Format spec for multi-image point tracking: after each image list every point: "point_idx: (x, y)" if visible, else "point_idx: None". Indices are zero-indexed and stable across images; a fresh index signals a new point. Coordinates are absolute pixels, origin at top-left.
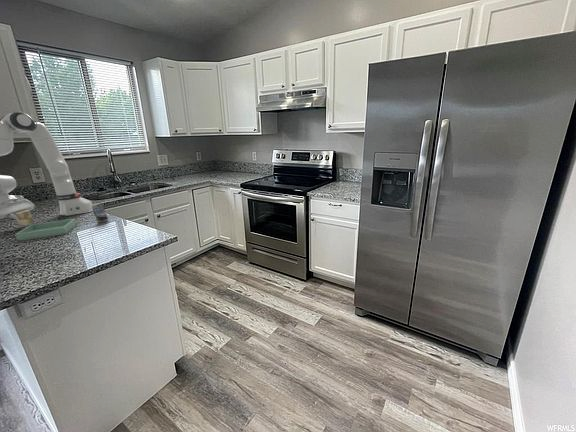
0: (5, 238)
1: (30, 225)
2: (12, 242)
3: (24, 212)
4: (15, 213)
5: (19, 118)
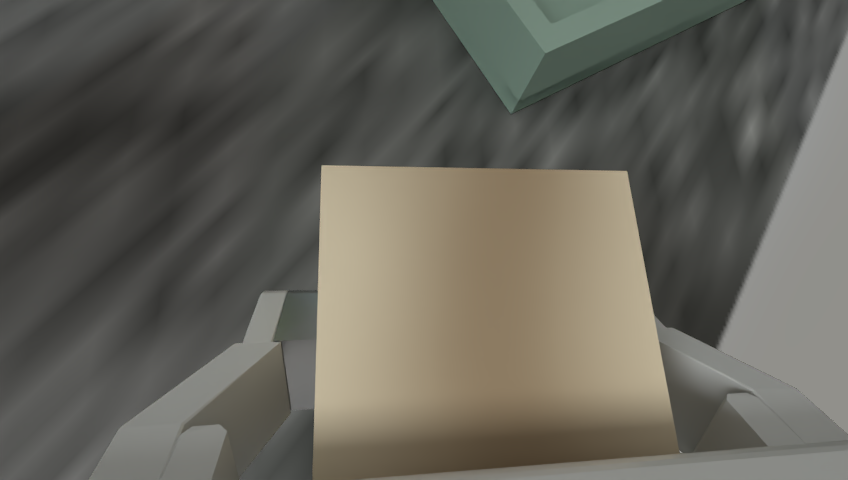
0: (772, 193)
1: (594, 18)
2: (799, 5)
3: (506, 177)
4: (665, 423)
5: None
